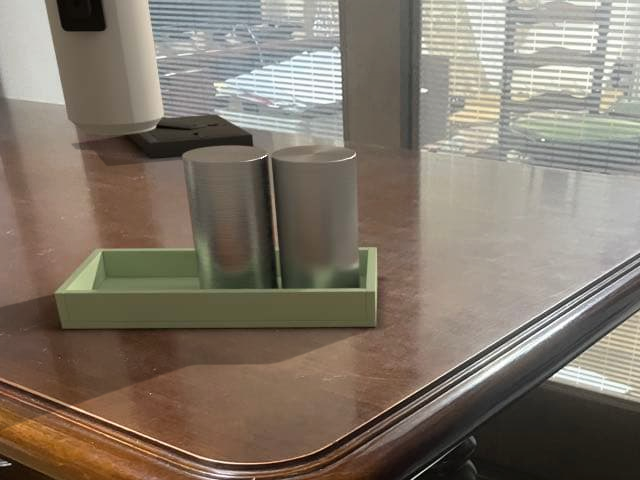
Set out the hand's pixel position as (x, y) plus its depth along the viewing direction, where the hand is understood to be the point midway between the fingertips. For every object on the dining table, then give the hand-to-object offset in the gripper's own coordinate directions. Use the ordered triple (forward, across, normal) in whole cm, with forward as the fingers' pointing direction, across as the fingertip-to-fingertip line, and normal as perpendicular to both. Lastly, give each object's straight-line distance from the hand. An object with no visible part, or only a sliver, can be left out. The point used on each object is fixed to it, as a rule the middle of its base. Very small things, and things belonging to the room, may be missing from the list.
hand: (100, 24), depth 67 cm
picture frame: (+22, -76, -10) cm, 80 cm away
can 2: (+21, 0, +8) cm, 23 cm away
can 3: (+21, 0, +16) cm, 27 cm away
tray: (+22, 0, +8) cm, 23 cm away
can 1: (+8, 0, 0) cm, 8 cm away
